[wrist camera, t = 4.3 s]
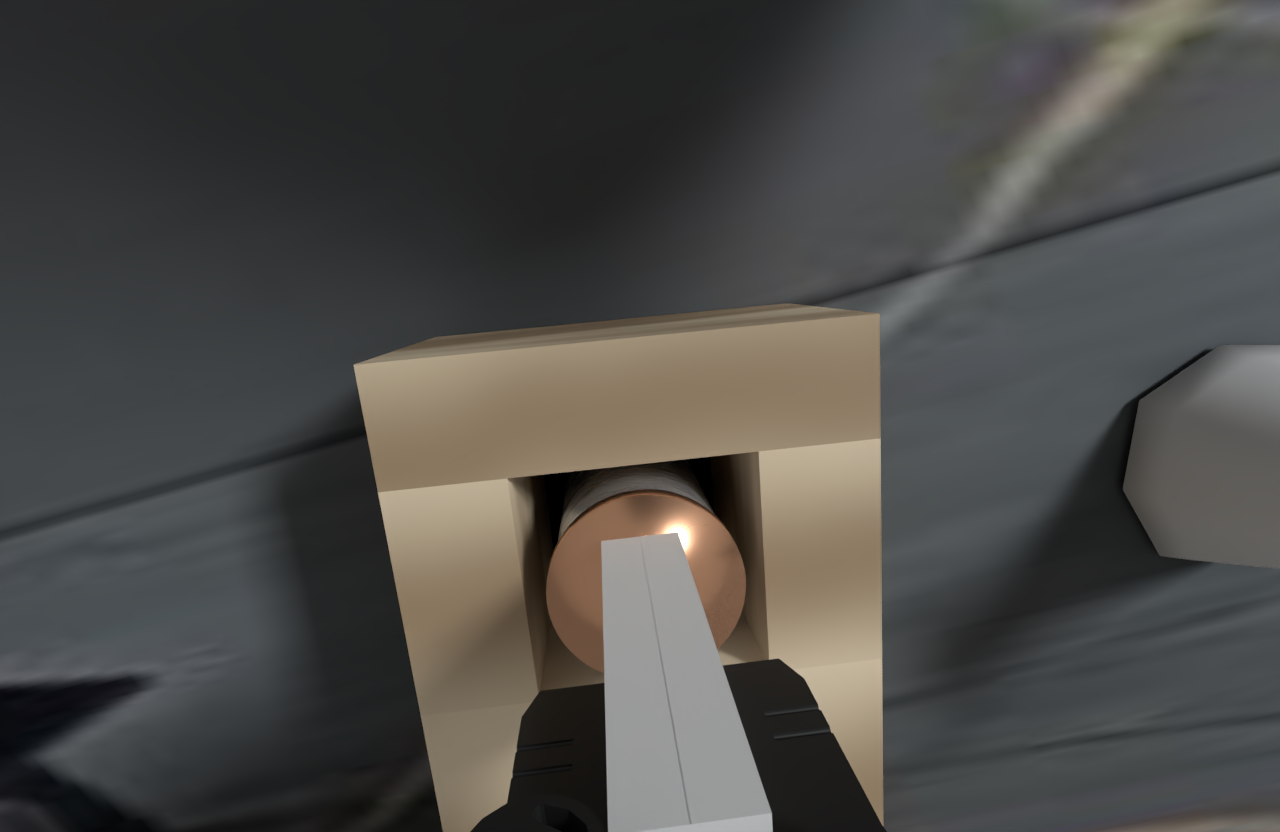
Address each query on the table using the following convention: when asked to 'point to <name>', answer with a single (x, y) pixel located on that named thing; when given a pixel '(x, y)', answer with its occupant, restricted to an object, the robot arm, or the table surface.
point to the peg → (637, 509)
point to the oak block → (620, 436)
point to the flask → (1212, 459)
